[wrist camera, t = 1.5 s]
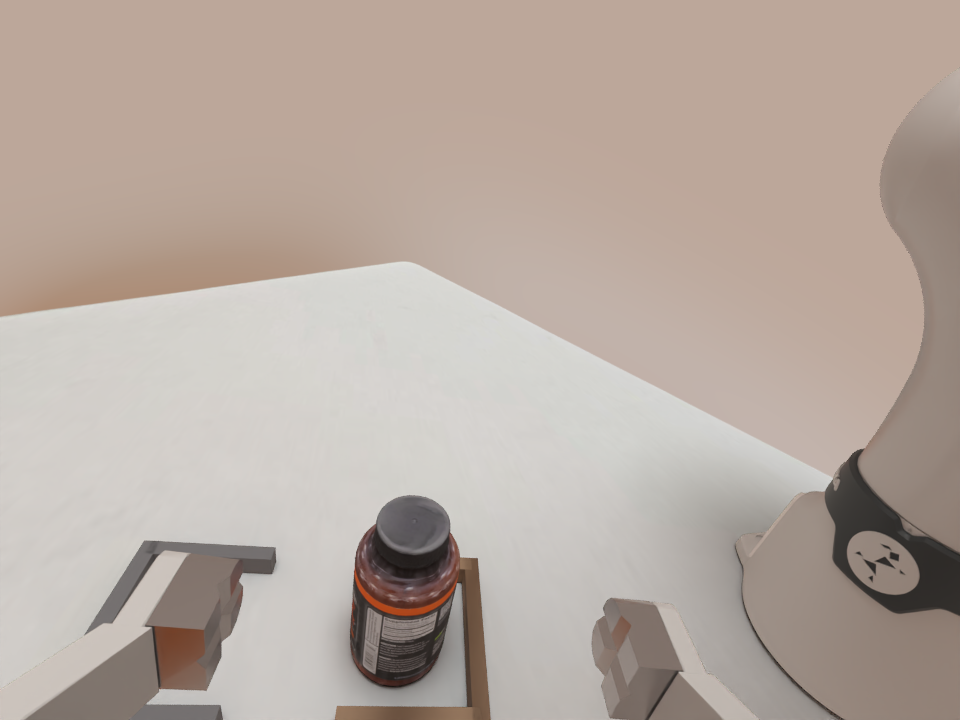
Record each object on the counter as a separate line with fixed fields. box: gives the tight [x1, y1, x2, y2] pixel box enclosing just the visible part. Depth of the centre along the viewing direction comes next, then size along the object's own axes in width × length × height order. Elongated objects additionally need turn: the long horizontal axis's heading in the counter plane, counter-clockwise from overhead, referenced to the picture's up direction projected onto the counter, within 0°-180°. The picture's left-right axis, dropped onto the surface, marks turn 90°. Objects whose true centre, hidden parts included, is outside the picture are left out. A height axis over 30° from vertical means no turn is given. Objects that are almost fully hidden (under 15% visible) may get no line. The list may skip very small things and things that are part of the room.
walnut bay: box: [335, 558, 491, 720], centre depth 31 cm, size 8×11×2 cm
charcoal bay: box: [85, 541, 276, 720], centre depth 29 cm, size 8×11×2 cm
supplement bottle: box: [350, 495, 460, 686], centre depth 29 cm, size 6×6×11 cm
